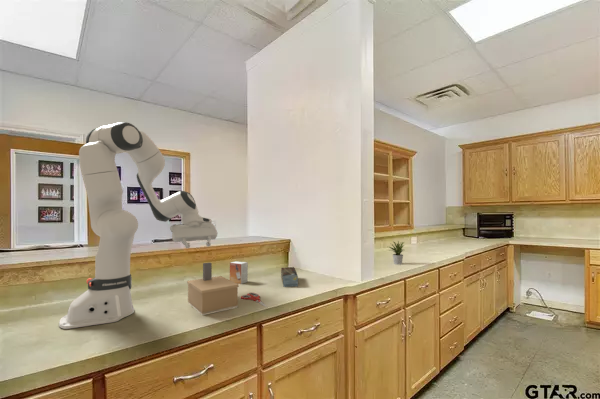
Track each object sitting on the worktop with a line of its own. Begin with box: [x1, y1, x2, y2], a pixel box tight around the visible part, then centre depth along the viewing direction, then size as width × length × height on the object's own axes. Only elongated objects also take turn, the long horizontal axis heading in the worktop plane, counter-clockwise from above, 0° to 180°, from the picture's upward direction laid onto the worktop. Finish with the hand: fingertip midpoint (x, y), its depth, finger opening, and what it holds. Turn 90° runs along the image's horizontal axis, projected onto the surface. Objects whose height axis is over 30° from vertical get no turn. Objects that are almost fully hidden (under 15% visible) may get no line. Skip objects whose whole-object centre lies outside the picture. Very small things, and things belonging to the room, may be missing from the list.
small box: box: [229, 260, 249, 285], centre depth 157 cm, size 8×6×10 cm
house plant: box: [388, 240, 405, 265], centre depth 208 cm, size 14×14×16 cm
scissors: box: [240, 292, 268, 308], centre depth 125 cm, size 8×21×2 cm, turn 45°
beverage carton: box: [280, 266, 299, 288], centre depth 157 cm, size 8×19×7 cm, turn 6°
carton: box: [187, 283, 239, 316], centre depth 120 cm, size 14×18×8 cm
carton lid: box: [186, 262, 240, 293], centre depth 120 cm, size 15×19×8 cm
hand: (198, 246), depth 135 cm, fingers open, 8 cm apart
